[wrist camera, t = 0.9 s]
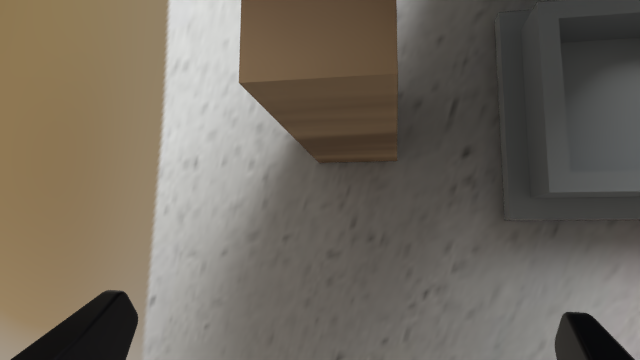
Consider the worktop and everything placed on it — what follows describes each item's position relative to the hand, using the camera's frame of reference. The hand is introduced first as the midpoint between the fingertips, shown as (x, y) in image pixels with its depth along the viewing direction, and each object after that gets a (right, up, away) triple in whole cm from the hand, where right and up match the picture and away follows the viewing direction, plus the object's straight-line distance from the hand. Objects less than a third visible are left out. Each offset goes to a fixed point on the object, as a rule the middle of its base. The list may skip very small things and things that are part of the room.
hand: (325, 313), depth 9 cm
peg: (+2, +6, +14) cm, 15 cm away
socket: (+14, +6, +12) cm, 19 cm away
